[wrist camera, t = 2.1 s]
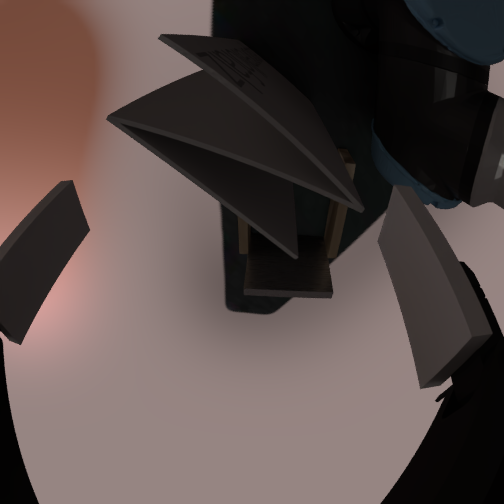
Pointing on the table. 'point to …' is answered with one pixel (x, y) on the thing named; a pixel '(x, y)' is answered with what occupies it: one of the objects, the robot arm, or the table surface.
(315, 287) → the bookend
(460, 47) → the robot arm
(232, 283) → the table surface
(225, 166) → the brochure
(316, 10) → the table surface
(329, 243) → the slot rails
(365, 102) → the table surface
